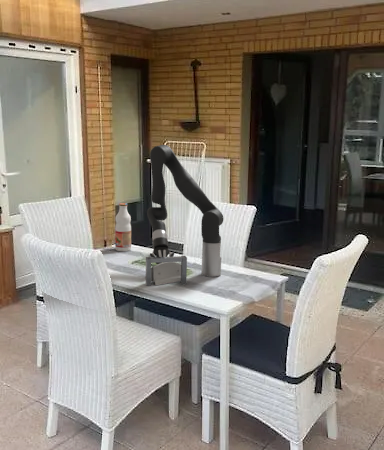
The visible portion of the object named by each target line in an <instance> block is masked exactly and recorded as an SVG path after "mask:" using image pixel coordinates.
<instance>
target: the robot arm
mask: <svg viewBox="0 0 384 450" xmlns="http://www.w3.org/2000/svg"><path fill="white" fill-rule="evenodd" d="M149 155H150V157H149V158H150V166H151V170H150V171H151V183H152V186H151V202H152V204H157V205H160V206H159V207H158V206H155V207H154V206H152V207H151V206H150V207H149V208H148V209H147V211H146V213H147V214H146V215H147V219H148V221H149V224H150V226H151V231H152V232H151V233H152V247H153V251H152V252H150V253H149V256H148V257H175V253H174V252H171V250H170V249H169V241H168V235H167V228H166V224H165V222H164V221H165V220H166V219H167V217H168V210H167V206H166V182H165V179H164V171H163V170H164V166H166V167H167V169H168V170H169V172H170V173H171V175H172V178H173V182H174V184H175V187H176V188H177V190H178V191H179V192H180V193H181V195H182V196H183V197H184V198H185V199H186V200H187V201H189V202H190V203H191V204H193V205H194V206H195V207H196V208H197V209H198V210H199V211H200V212H201V214H202V216H201V238H202V247H201V248H202V249H201V251H202V252H201V275H202V276H204V277H209V278H210V277H211V278H212V277H213V278H215V277H219V276H221V274H222V271H221V270H222V256H221V250H222V249H221V246H222V244H221V243H222V237H221V236H220V226H221V225H222V224H223V223H224V214H223V212H221V210H220V209H219V208H218V207H217V206H216V205H214V203H213V202H212V201H211V200H210V199H209V198H208V197H207V195H206V194H205V193H204V191H203V190H202V188H201V187H200V185H199V184H198V183H197V182H196V181H195V179H194V178H193V177H192V175H190V174H189V172H188V171H187V169H186V168H185V167H184V165H182V163H181V161H180V160H179V159H178V157H177V156H176V154H175V152H174V151H173V149H172V148H171V147H170V146H169V145H167V144H160V145H156V146H153V147H152V148H151V149H150V153H149ZM160 263H164V262H160ZM160 263H155V265H157V264H160Z"/></svg>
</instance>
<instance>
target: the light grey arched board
mask: <svg viewBox="0 0 384 450" xmlns="http://www.w3.org/2000/svg"><path fill="white" fill-rule="evenodd" d="M177 282H181V263H180V262H164V263H163V262H162V263H160V264H155V265H152V266H151V283H154V285H155V286H158V285H164V284H171V283H172V284H173V283H177Z"/></svg>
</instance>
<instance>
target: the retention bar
mask: <svg viewBox="0 0 384 450" xmlns="http://www.w3.org/2000/svg"><path fill="white" fill-rule="evenodd" d="M160 262H162V263H163V262H175V263H180V264H181V281H180V283H181V285H187V274H188V271H187V269H188V258H187V256H186V255H179V256H178V255H177V256H173V257H169V256H167V257H156V256H155V257H149V256H146V257H145V285H146V287H151V286H152V282H151V268H152V264H156V263H160Z"/></svg>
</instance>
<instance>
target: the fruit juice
mask: <svg viewBox="0 0 384 450" xmlns="http://www.w3.org/2000/svg"><path fill="white" fill-rule="evenodd" d="M118 207H119V209H118V213H117V214H116V215H115V223H116V224H115V227H114V228H115V229H114V230H115V231H114V233H115V235H114V236H115V237H114V240H115V241H114V248H115V250H116V251H118V252H130V251H131V250H132V224H131V221H132V219H131V218H132V217H131V214H129V212H128V203H126V202H121V203H118Z"/></svg>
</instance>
